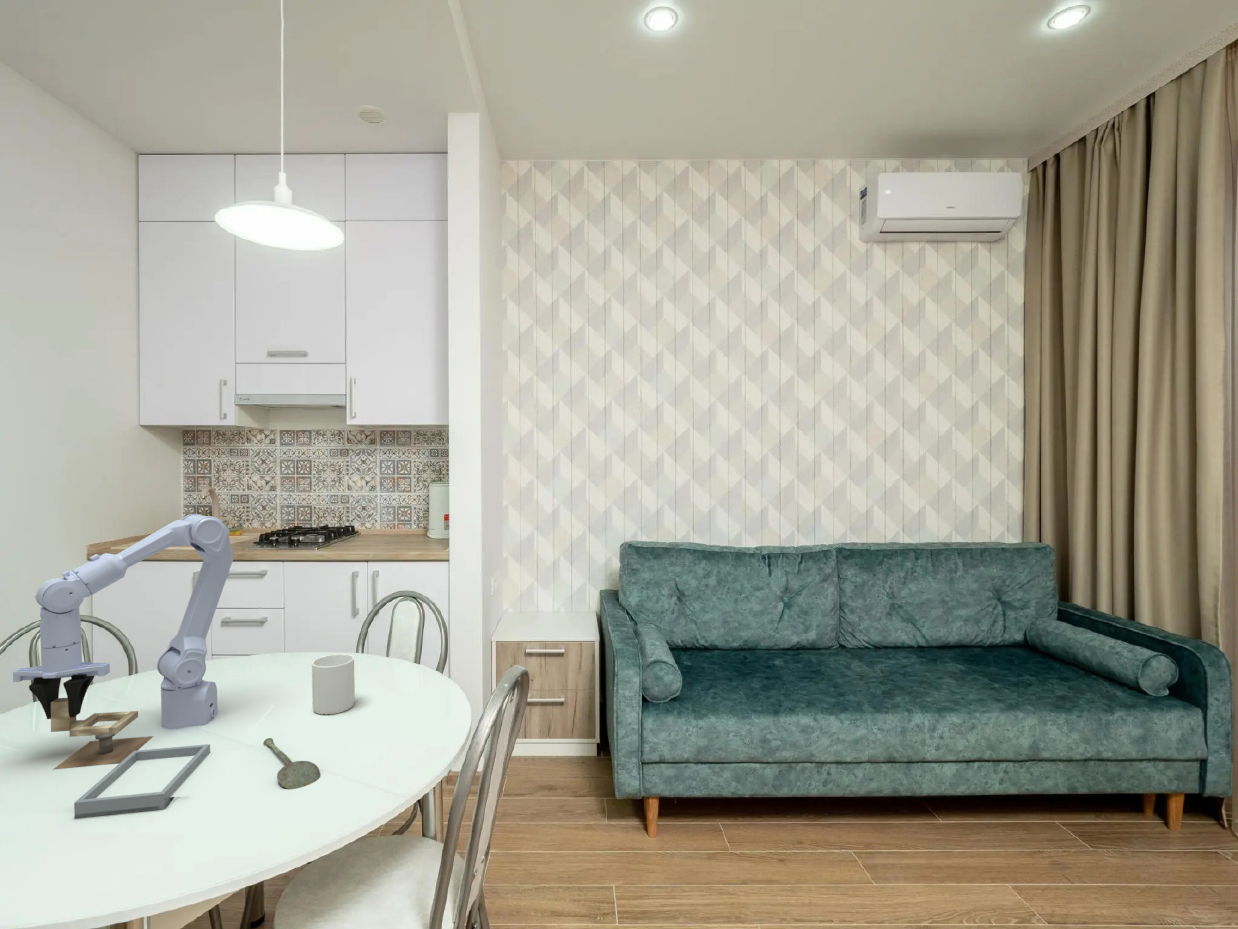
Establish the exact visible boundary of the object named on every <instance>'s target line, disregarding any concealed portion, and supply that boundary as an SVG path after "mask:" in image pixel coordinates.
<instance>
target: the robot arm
mask: <svg viewBox="0 0 1238 929" xmlns="http://www.w3.org/2000/svg"><path fill="white" fill-rule="evenodd" d="M230 533H231V530H230V529H229V528H228V527H227V526H226V524H225V523H224V522H223V521H222V520H221V519H220V518H218V517H216V516H206V515H203V514H199V513H191V514H187V515H186V516H184V517H183V518H181V519H175V520H174V521H172V522H170V523H169V524H166V525H165V526H163V527H161V528H160V529H158V530H157V531H154V532H153V533H151V534H150V535H148V536H146V537H144V538H142V539H141V540H139V541H137V542H136V543H134V544H131V546H129V547H127V548H125V549H124V550H122V551H120V552H118V553H117V554H115V553H106V552H105V553H103V554H101V555H99V554H96V553H95V554H94V555H92V556H89V559H90V561H87V562H86V563H83V564H82V565H80V566H79V567H76V568H74V569H72V570H70V571H69V570H64V571H62V572H61V576H62V577H58V578H57V577H54V578H50V579H48V580H46V581H45V582H44V583H42V584H41V585H40V587H39V588H38V590H37V591H36V594H35V595H34V598H35V601H36V603H37V604H38V605H39V606H41V607H40V612H39V615H40V616H39V617H40V621H39V634H40V635H39V638H40V659H41V660H40V661H41V662H40V665H38V666H32V667H22V668H18V669H16V670H14V671H13V672H12V680H13V681H12V682H13V683H19V682H22V681H32V683H31V684H29V686H28V689H29V691H30V692H31V693H32V694H33V695H34V697H36V698H37V700H38V702H39V703H40V705H41V707H42V709H43V711H44V713H45V716H46V719H47V720H51V702H52V701H54V700H56V699H57V698H60V697H59V695H60V694H59V693H60V686H61V681H62V679H64V678H69V679H68V680H66V681H64V682H63V687H64V689H65V693H66V698H68V713H69V717H75V716H76V717H77V716H78V715H79V714H81V711H82V706H83V702H84V699H85V696H86V693H87V692H88V689H89V687H90V686H91V683H92V681H93V680H94V679H95V676H97V677H105V676H106V675H108V674H110V672H111V670H110V668H111V666H110V664H111V663H110V662H89V661H83V650H82V649H83V648H82V623H81V622H82V620H81V619H82V618H81V615H80V606H81V605H82V604H83V601H84V600H85V598H89V597H91V596H93V595H95V594H97V593H98V592H100V591H101V590H104V589H105V588H107V587H108V586H111V585H112V584H114V583H116V582H117V581H120V580H121V579H123V578H124V577H125V576H126V572H127V570H128V569H129V568H130V567H133V566H135V565H136V564H138V563H140V562H142V561H143V560H145V559H148V558H150V557H151V556H154V555H156V554H157V553H160V552H162V551H164V550H165V549H168V548H170V547H186V546H187V547H189V546H191V547H192V548H193V549H194V550H195V551H196V553H197V554H198V555H199V557H200V558H201V560H202V564H201V568H200V570H199V573H198V575H197V578H196V582H195V584H194V587H193V590H192V592H191V594H190V595H191V596H190V598H189V600H188V604H187V607H186V609H185V611H184V614H183V618H182V620H181V623H180V626H179V629H178V631H177V634H176V635H175V636H174V637H173V638H172V639H171V640H170V641H169V644H168V646H167V649H166V650H165V651H164V652H163V653H162V654H161V655H160V656H159V658H158V660H157V662H156V669H157V671H158V673H159V674H160V675H161V676H162V677H163V679H162V681H161V683H160V706H161V707H160V709H161V710H160V712H161V727H162V728H164V729H165V730H175V729H176V730H177V729H182V728H189V727H190V728H191V727H199V726H200V727H201V726H207V725H208V724H209V723H210V721H212V720H213V719H214V718H215V717H216V716H217V715H218V712H219V711H218V688H217V684H216V682H215V681H208V680H207V681H206V680H204V679H203V677H204V675H205V674H206V671H207V666H206V664H207V663H206V657H207V653H208V647H207V642H206V641H207V640H206V639H207V637H208V634H209V630H210V628H211V624H212V622H213V618H214V616H215V613H216V610H217V607H218V604H219V602H220V598H221V596H222V593H223V590H224V587H225V584H226V581H227V579H228V575H229V573H230V570H231V566H232V564H233V561H234V552H233V548H232V543H231V540H230Z"/></svg>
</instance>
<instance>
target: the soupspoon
mask: <svg viewBox="0 0 1238 929" xmlns="http://www.w3.org/2000/svg"><path fill="white" fill-rule="evenodd" d="M262 744H263V746H266V747H269V748H271V749H273V752H275V753H276V754H277V755H278V756H279V757H280V758H281V759H282V761H284V763H285V765H284V766H282V768H280V769H279V771H278V772H277V774H276V777H277V780H278V783H279V784H280V786H281V787H282V788H284V789H287V790H295V789H300V788H304V787H307V786H309V785H312V784H313V783H316V782H317V781H318V780H319V779H320V777H321V770H320V769H319V767H318V766H317V765H316V764H315V763H314V762H312V761H308V760H296V761H294V762H293V761H292V759H291V758H290V757H289V756H287V755H286V754H285V752H283V751H282V750H281V749H280V748H278V747H277V746H276V745H275V743H274V738H272V737H268V738H266V739H264V740H263V742H262Z"/></svg>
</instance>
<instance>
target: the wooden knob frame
mask: <svg viewBox="0 0 1238 929" xmlns="http://www.w3.org/2000/svg"><path fill="white" fill-rule="evenodd" d="M138 718H139V710H132V711H131V710H129V711H114V712H113V711H112V712H111V711H110V712H98V713H96V712H95V713H92V714H91V715H90V716H88V717H87V718H85V719H80V720H77V715H76V716H75V717H69V713H68V698H67V697H59V698H57V699H56V700H54V701H52V702H51V719H50V732H51V733H55V732H69V734H68V735H69V738H73V737H74V738H75V737H86V736H87V737H88V736H95V735H107V734H115V735H118V733H120V732H121V731H122V730H124V729H125V728H126V727H128V726H129V725H130V724H131V723H132V722H134V721H135V720H136V719H138ZM101 722H103V723H104V722H115V723H113V724H108V725H107V724H106V725H96V724H97V723H101Z"/></svg>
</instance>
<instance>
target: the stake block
mask: <svg viewBox="0 0 1238 929" xmlns="http://www.w3.org/2000/svg"><path fill="white" fill-rule="evenodd" d="M94 736H95V740H91V741H89V742H87V743H86V744H85V745H82V747H80V749H78V750H76V752H74V753H73V754H72V755H70V756H69V757H68V758H67V757H66V759H64V760H63V761H62V762H61V763H59V764H58V765H57V766H55V767H54V768H53V770H62V769H73V768H74V769H75V768H85V767H95V766H96V767H97V766H107V765H116V764H117V765H118V764H119V763H121V762H122V761H123V760H124V759H125V758H126V757H128V756H129V755H130V754H131V753H132V752H133V751H137V750H141V748H142V747H143V746H144V745H145V744H147V743H148V742H149V741H150V740H152V738H153V737H154V736H153V735H151V736H148V735H147V736H140V737H127V738H125V737H124V738H115V739H113V737H115V736H116V734H107V735H94Z"/></svg>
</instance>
